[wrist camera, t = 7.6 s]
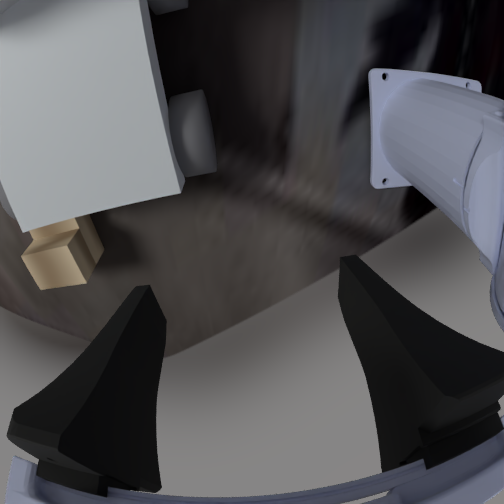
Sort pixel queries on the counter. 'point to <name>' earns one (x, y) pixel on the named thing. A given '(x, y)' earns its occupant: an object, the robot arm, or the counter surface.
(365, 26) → the counter surface
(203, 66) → the counter surface
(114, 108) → the trolley
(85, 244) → the block
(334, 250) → the counter surface
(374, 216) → the counter surface
